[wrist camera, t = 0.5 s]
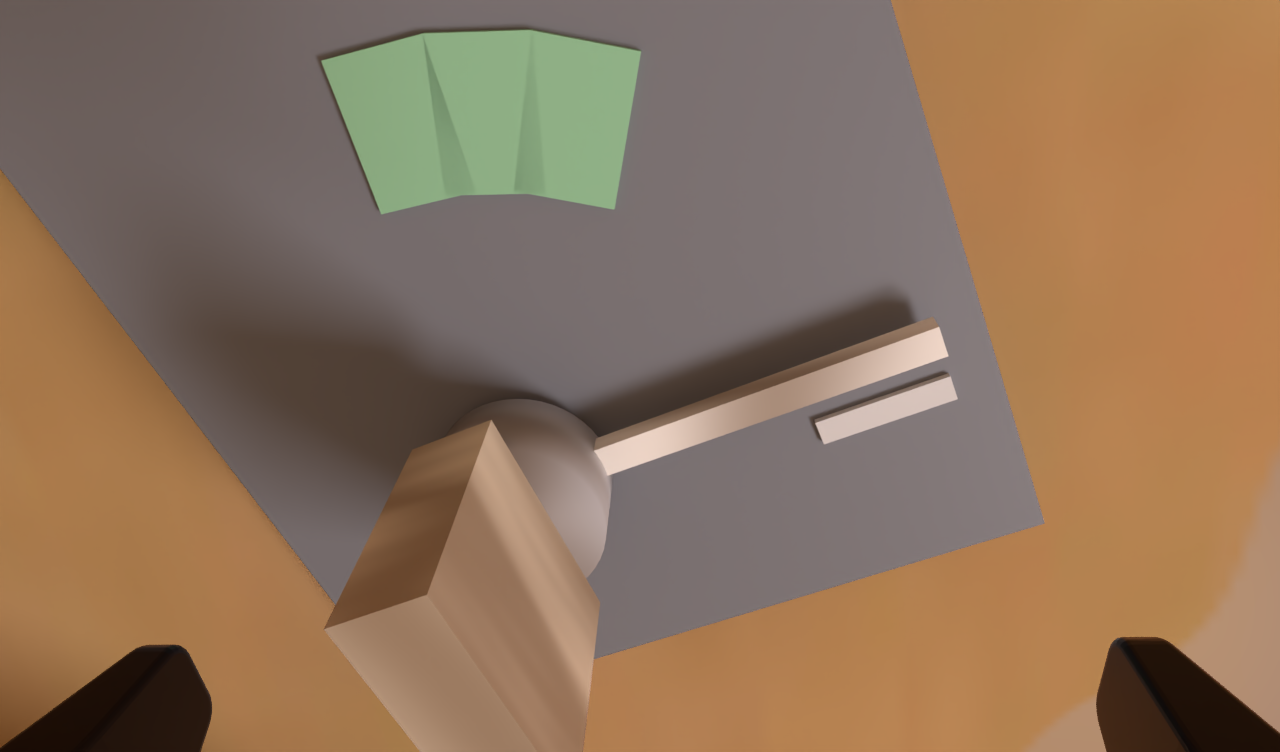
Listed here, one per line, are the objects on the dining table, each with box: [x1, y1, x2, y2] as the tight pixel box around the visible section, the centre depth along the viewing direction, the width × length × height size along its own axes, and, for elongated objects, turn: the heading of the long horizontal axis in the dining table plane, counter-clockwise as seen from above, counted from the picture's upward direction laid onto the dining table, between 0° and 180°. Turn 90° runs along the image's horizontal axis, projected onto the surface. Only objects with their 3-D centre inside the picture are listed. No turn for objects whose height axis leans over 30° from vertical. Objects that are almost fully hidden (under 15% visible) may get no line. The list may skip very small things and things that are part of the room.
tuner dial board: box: [0, 0, 1044, 659], centre depth 19 cm, size 17×19×2 cm
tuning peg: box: [324, 317, 948, 752], centre depth 17 cm, size 12×5×7 cm, turn 114°
